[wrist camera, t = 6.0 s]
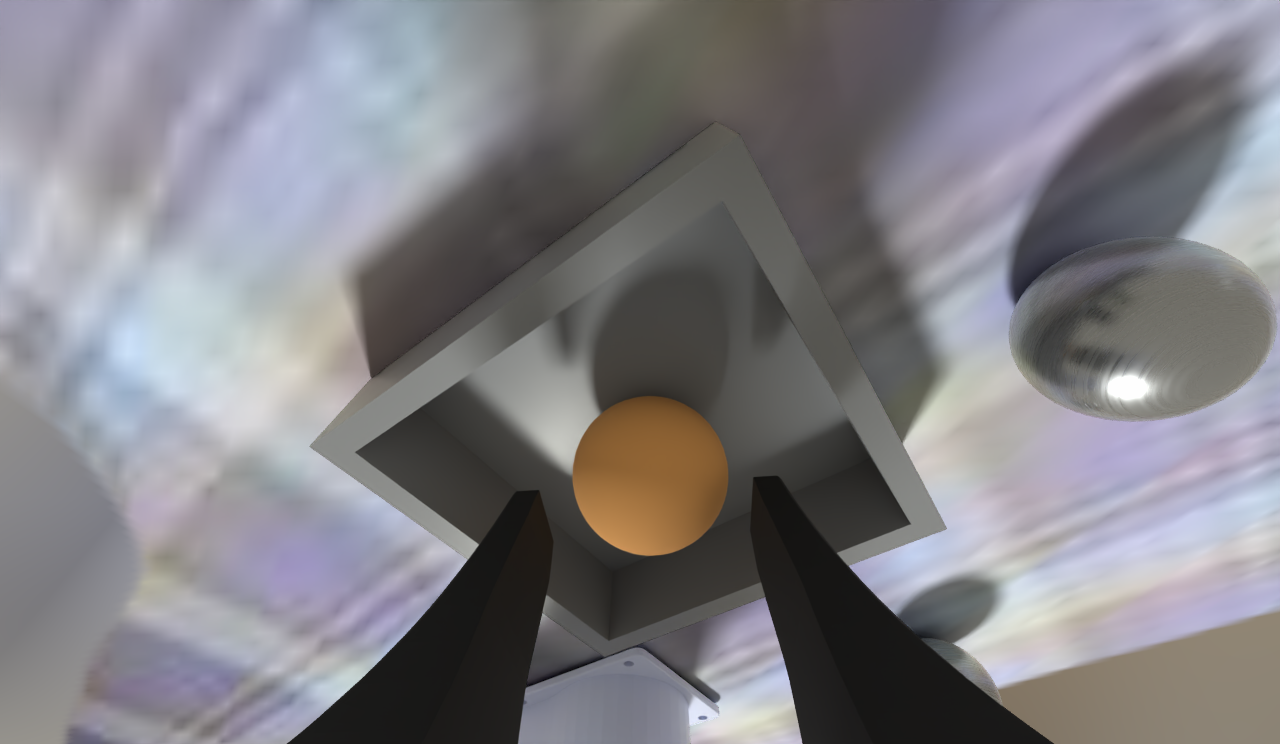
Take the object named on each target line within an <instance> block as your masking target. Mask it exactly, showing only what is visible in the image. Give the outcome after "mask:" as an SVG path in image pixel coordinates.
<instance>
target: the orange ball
mask: <svg viewBox="0 0 1280 744" xmlns="http://www.w3.org/2000/svg"><path fill="white" fill-rule="evenodd" d="M573 487H574V493H575V497H576V500H577V503H578V506H579V508H580V511H581V513H582V514H583V516H584V518H585V519H586V521H587V523H588V524H589V525H590V526H591V528H592V529H593V530H594V531H595V532H596V533H597V534H598V535H599V536H600V537H601V538H603V539H604V540H605V541H607V542H608V543H610V544H611V545H613V546H615V547H617V548H619V549H621V550H623V551H627V552H630V553H633V554H638V555H646V556H654V555H664V554H668V553H672V552H675V551H678V550H680V549H683V548H685V547H686V546H688V545H690V544H692V543H693V542H695V541H696V540H698V539H699V538H700V537H701V536H702V535H703V534H704V533H705V532H706V531H707V530H708V529H709V528H710V527H711V526H712V524H713V523H714V521H715V520H716V518H717V517H718V515H719V513H720V511H721V509H722V506H723V504H724V501H725V497H726V494H727V487H728V464H727V459H726V455H725V451H724V448H723V446H722V444H721V441H720V439H719V437H718V435H717V434H716V432H715V431H714V430H713V428H712V427H711V425H710V424H709V423H708V422H707V421H706V420H705V419H704V418H703V417H702V416H701V415H700V414H699V413H698V412H696V411H695V410H694V409H692V408H690V407H688V406H687V405H685V404H683V403H681V402H678V401H676V400H673V399H669V398H665V397H658V396H641V397H635V398H631V399H628V400H624V401H622V402H619V403H617V404H615V405H613V406H611V407H610V408H608V409H607V410H605V411H604V412H603V413H602V414H600V415H599V416H598V417H597V418H596V419H595V420H594V421H593V422H592V423H591V425H590V426H589V427H588V428H587V430H586V431H585V433H584V435H583V436H582V438H581V440H580V443H579V445H578V448H577V450H576V453H575V458H574V463H573Z"/></svg>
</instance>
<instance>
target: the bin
mask: <svg viewBox="0 0 1280 744" xmlns="http://www.w3.org/2000/svg"><path fill="white" fill-rule="evenodd" d="M641 396H658V397H665V398H669V399H673V400H676V401H678V402H681V403H683V404H685V405H687V406H688V407H690V408H692V409H694V410H695V411H696V412H698V413H699V414H700V415H701V416H702V417H703V418H704V419H705V420H706V421H707V422H708V423H709V424H710V425H711V427H712V428H713V430H714V431H715V432H716V434H717V435H718V437H719V439H720V441H721V444H722V446H723V448H724V451H725V455H726V459H727V464H728V487H727V494H726V497H725V501H724V504H723V506H722V509H721V511H720V513H719V515H718V517H717V518H716V520H715V521H714V523H713V524H712V526H711V527H710V528H709V529H708V530H707V531H706V532H705V533H704V534H703V535H702V536H701V537H700V538H699V539H698V540H696V541H695V542H693V543H692V544H690V545H688V546H686V547H685V548H683V549H680V550H678V551H675V552H672V553H668V554H664V555H654V556H646V555H638V554H633V553H630V552H627V551H623V550H621V549H619V548H617V547H615V546H613V545H611V544H610V543H608V542H607V541H605V540H604V539H603V538H601V537H600V536H599V535H598V534H597V533H596V532H595V531H594V530H593V529H592V528H591V526H590V525H589V524H588V523H587V521H586V519H585V518H584V516H583V514H582V513H581V511H580V508H579V506H578V503H577V500H576V497H575V493H574V487H573V463H574V458H575V453H576V450H577V448H578V445H579V443H580V440H581V438H582V436H583V435H584V433H585V431H586V430H587V428H588V427H589V426H590V425H591V423H592V422H593V421H594V420H595V419H596V418H597V417H598V416H599V415H600V414H602V413H603V412H604V411H605V410H607V409H608V408H610V407H611V406H613V405H615V404H617V403H619V402H622V401H624V400H628V399H631V398H635V397H641ZM309 447H311V448H312V449H313V450H315V451H316V452H318V453H319V454H320V455H322V456H323V457H325V458H326V459H327V460H329V461H330V462H332V463H333V464H334V465H336V466H337V467H339V468H340V469H341V470H343V471H344V472H346V473H347V474H349V475H350V476H351V477H353V478H354V479H356V480H357V481H358V482H360V483H361V484H363V485H364V486H365V487H367V488H368V489H370V490H371V491H372V492H374V493H375V494H377V495H378V496H379V497H381V498H382V499H384V500H385V501H386V502H388V503H389V504H391V505H392V506H393V507H395V508H396V509H398V510H399V511H400V512H402V513H403V514H405V515H406V516H407V517H409V518H410V519H412V520H413V521H414V522H416V523H417V524H419V525H420V526H421V527H423V528H424V529H426V530H427V531H428V532H430V533H431V534H433V535H434V536H435V537H437V538H438V539H440V540H441V541H442V542H444V543H445V544H447V545H448V546H449V547H451V548H452V549H454V550H455V551H456V552H458V553H459V554H461V555H462V556H463V557H465V558H466V559H469V558H470V556H471V555H472V554H473V552H474V551H475V549H476V548H477V547H478V545H479V544H480V543H481V541H482V540H483V538H484V537H485V536H486V534H487V533H488V531H489V530H490V528H491V527H492V525H493V524H494V523H495V521H496V520H497V518H498V517H499V515H500V514H501V512H502V511H503V509H504V508H505V506H506V505H507V503H508V502H509V500H510V499H511V497H512V496H513V494H514V493H515V492H516V491H528V490H539V491H540V495H541V498H542V502H543V505H544V509H545V512H546V516H547V519H548V523H549V526H550V530H551V534H552V537H553V541H554V543H553V553H552V563H551V571H550V580H549V585H548V589H547V594H546V598H545V603H544V607H543V612H542V613H543V614H545V615H546V616H548V617H549V618H550V619H552V620H553V621H555V622H556V623H557V624H559V625H560V626H562V627H563V628H564V629H566V630H567V631H569V632H570V633H571V634H573V635H574V636H576V637H577V638H578V639H580V640H581V641H583V642H584V643H585V644H587V645H588V646H590V647H591V648H592V649H594V650H595V651H597V652H598V653H599V654H601V655H602V656H604V657H606V656H609V655H612V654H614V653H617V652H620V651H622V650H625V649H628V648H630V647H633V646H636V645H638V644H641V643H644V642H646V641H649V640H652V639H654V638H657V637H660V636H662V635H665V634H668V633H670V632H673V631H676V630H678V629H681V628H684V627H686V626H689V625H692V624H694V623H697V622H700V621H702V620H705V619H708V618H710V617H713V616H716V615H718V614H721V613H724V612H726V611H729V610H732V609H734V608H737V607H740V606H742V605H745V604H748V603H750V602H753V601H756V600H758V599H761V598H764V597H765V594H764V591H763V587H762V584H761V580H760V577H759V574H758V570H757V565H756V560H755V555H754V549H753V544H752V538H751V533H750V523H751V505H752V487H753V477H761V476H778V477H780V478H781V479H782V481H783V482H784V484H785V485H786V487H787V488H788V490H789V491H790V493H791V494H792V496H793V497H794V499H795V500H796V501H797V503H798V504H799V506H800V507H801V508H802V510H803V511H804V512H805V514H806V515H807V516H808V518H809V519H810V520H811V522H812V523H813V524H814V526H815V527H816V528H817V529H818V531H819V532H820V533H821V534H822V536H823V537H824V538H825V539H826V540H827V542H828V543H829V544H830V545H831V547H832V548H833V549H834V550H835V551H836V553H837V554H838V555H839V556H840V557H841V558H842V560H843V561H844V562H845V563H846V564H847V565H848V566H849V565H852V564H855V563H857V562H860V561H863V560H865V559H868V558H871V557H873V556H876V555H879V554H881V553H884V552H887V551H889V550H892V549H895V548H897V547H900V546H903V545H905V544H908V543H911V542H914V541H916V540H919V539H922V538H924V537H927V536H930V535H932V534H935V533H938V532H940V531H943V530H946V529H947V528H946V526H945V524H944V522H943V520H942V518H941V516H940V514H939V512H938V511H937V509H936V507H935V505H934V503H933V501H932V499H931V497H930V495H929V493H928V491H927V490H926V488H925V486H924V484H923V482H922V480H921V478H920V476H919V474H918V472H917V471H916V469H915V467H914V465H913V463H912V461H911V459H910V457H909V455H908V453H907V452H906V450H905V448H904V446H903V444H902V442H901V440H900V438H899V436H898V434H897V433H896V431H895V429H894V427H893V425H892V423H891V421H890V419H889V417H888V415H887V413H886V412H885V410H884V408H883V406H882V404H881V402H880V400H879V398H878V396H877V394H876V393H875V391H874V389H873V387H872V385H871V383H870V381H869V379H868V377H867V375H866V374H865V372H864V370H863V368H862V366H861V364H860V362H859V360H858V358H857V356H856V354H855V353H854V351H853V349H852V347H851V345H850V343H849V341H848V339H847V337H846V335H845V334H844V332H843V330H842V328H841V326H840V324H839V322H838V320H837V318H836V316H835V315H834V313H833V311H832V309H831V307H830V305H829V303H828V301H827V299H826V297H825V296H824V294H823V292H822V290H821V288H820V286H819V284H818V282H817V280H816V278H815V276H814V275H813V273H812V271H811V269H810V267H809V265H808V263H807V261H806V259H805V257H804V256H803V254H802V252H801V250H800V248H799V246H798V244H797V242H796V240H795V238H794V237H793V235H792V233H791V231H790V229H789V227H788V225H787V223H786V221H785V219H784V218H783V216H782V214H781V212H780V210H779V208H778V206H777V204H776V202H775V200H774V198H773V197H772V195H771V193H770V191H769V189H768V187H767V185H766V183H765V181H764V179H763V178H762V176H761V174H760V172H759V170H758V168H757V166H756V164H755V162H754V160H753V159H752V157H751V155H750V153H749V151H748V149H747V147H746V145H745V143H744V141H743V140H742V138H741V136H740V134H738V133H736V132H734V131H732V130H731V129H729V128H727V127H725V126H723V125H722V124H720V123H718V122H716V121H715V122H714V123H713V124H711V125H710V126H709V127H707V128H706V129H705V130H703V131H702V132H701V133H699V134H698V135H697V136H695V137H694V138H693V139H691V140H690V141H689V142H687V143H686V144H685V145H683V146H682V147H681V148H679V149H678V150H677V151H675V152H674V153H673V154H671V155H670V156H669V157H667V158H666V159H665V160H663V161H662V162H661V163H659V164H658V165H657V166H655V167H654V168H652V169H651V170H650V171H648V172H647V173H646V174H644V175H643V176H642V177H640V178H639V179H638V180H636V181H635V182H634V183H632V184H631V185H630V186H628V187H627V188H626V189H624V190H623V191H622V192H620V193H619V194H618V195H616V196H615V197H614V198H612V199H611V200H610V201H608V202H607V203H606V204H604V205H603V206H602V207H600V208H599V209H598V210H596V211H595V212H594V213H592V214H591V215H590V216H588V217H587V218H586V219H584V220H583V221H582V222H580V223H579V224H578V225H576V226H575V227H574V228H572V229H571V230H570V231H568V232H567V233H566V234H564V235H563V236H562V237H560V238H559V239H558V240H556V241H555V242H554V243H552V244H551V245H549V246H548V247H547V248H545V249H544V250H543V251H541V252H540V253H539V254H537V255H536V256H535V257H533V258H532V259H531V260H529V261H528V262H527V263H525V264H524V265H523V266H521V267H520V268H519V269H517V270H516V271H515V272H513V273H512V274H511V275H509V276H508V277H507V278H505V279H504V280H503V281H501V282H500V283H499V284H497V285H496V286H495V287H493V288H492V289H491V290H489V291H488V292H487V293H485V294H484V295H483V296H481V297H480V298H479V299H477V300H476V301H475V302H473V303H472V304H471V305H469V306H468V307H467V308H465V309H464V310H463V311H461V312H460V313H459V314H457V315H456V316H455V317H453V318H452V319H450V320H449V321H448V322H446V323H445V324H444V325H442V326H441V327H440V328H438V329H437V330H436V331H434V332H433V333H432V334H430V335H429V336H428V337H426V338H425V339H424V340H422V341H421V342H420V343H418V344H417V345H416V346H414V347H413V348H412V349H410V350H409V351H408V352H406V353H405V354H404V355H402V356H401V357H400V358H398V359H397V360H396V361H394V362H393V363H392V364H390V365H389V366H388V367H386V368H385V369H384V370H382V371H381V372H380V373H378V374H377V375H376V376H374V377H373V378H372V379H370V380H369V381H368V383H367V384H366V385H365V386H364V387H363V388H362V389H361V390H360V391H359V392H358V394H357V395H356V396H355V397H354V398H353V399H352V400H351V401H350V402H349V403H348V405H347V406H346V407H345V408H344V409H343V410H342V411H341V412H340V413H339V414H338V416H337V417H336V418H335V419H334V420H333V421H332V422H331V423H330V424H329V425H328V426H327V428H326V429H325V430H324V431H323V432H322V433H321V434H320V435H319V436H318V437H317V439H316V440H315V441H314V442H313V443H312V444H311V445H310V446H309Z"/></svg>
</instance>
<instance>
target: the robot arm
mask: <svg viewBox="0 0 1280 744" xmlns="http://www.w3.org/2000/svg"><path fill="white" fill-rule="evenodd" d="M750 533H751V538H752V544H753V549H754V555H755V560H756V565H757V570H758V574H759V577H760V580H761V584H762V587H763V591H764V594H765V597H766V601H767V604H768V607H769V611H770V614H771V617H772V621H773V624H774V627H775V631H776V634H777V637H778V641H779V644H780V647H781V651H782V654H783V657H784V661H785V665H786V669H787V672H788V676H789V680H790V685H791V690H792V694H793V699H794V704H795V709H796V714H797V718H798V723H799V728H800V733H801V738H802V743H803V744H1054V743H1052V742H1051V741H1049V740H1048V739H1047V738H1045V737H1044V736H1043V735H1041V734H1040V733H1038V732H1037V731H1036V730H1034V729H1033V728H1031V727H1030V726H1029V725H1027V724H1026V723H1024V722H1023V721H1022V720H1020V719H1019V718H1018V717H1016V716H1015V715H1014V714H1012V713H1011V712H1010V711H1008V710H1007V709H1006V708H1004V707H1003V706H1002V705H1000V704H999V703H998V702H997V701H995V700H994V699H993V698H992V697H990V696H989V695H988V694H987V693H985V692H984V691H983V690H981V689H980V688H979V687H978V686H976V685H975V684H974V683H973V682H971V681H970V680H969V679H967V678H966V677H965V676H964V675H963V674H962V673H960V672H959V671H958V670H957V669H956V668H955V667H953V666H952V665H951V664H950V663H949V662H948V661H946V660H945V659H944V658H943V657H942V656H940V655H939V654H938V653H937V652H936V651H935V650H933V649H932V648H931V647H930V646H929V645H928V644H926V643H925V642H924V641H923V640H922V639H921V638H919V637H918V636H917V635H916V634H915V633H914V632H913V631H912V630H911V629H910V628H909V627H908V626H907V625H905V624H904V623H903V622H902V621H901V620H900V619H899V618H898V617H897V616H896V615H895V614H894V613H893V612H892V611H891V610H890V609H889V608H888V607H887V606H886V605H885V604H884V603H883V602H882V601H881V600H880V599H879V598H878V597H877V596H876V595H875V594H874V593H873V592H872V591H871V590H870V589H869V588H868V587H867V586H866V585H865V584H864V583H863V582H862V581H861V580H860V579H859V577H858V576H857V575H856V574H855V573H854V572H853V571H852V570H851V569H850V567H849V566H848V565H847V564H846V563H845V562H844V561H843V560H842V558H841V557H840V556H839V555H838V554H837V553H836V551H835V550H834V549H833V548H832V547H831V545H830V544H829V543H828V542H827V540H826V539H825V538H824V537H823V536H822V534H821V533H820V532H819V531H818V529H817V528H816V527H815V526H814V524H813V523H812V522H811V520H810V519H809V518H808V516H807V515H806V514H805V512H804V511H803V510H802V508H801V507H800V506H799V504H798V503H797V501H796V500H795V499H794V497H793V496H792V494H791V493H790V491H789V490H788V488H787V487H786V485H785V484H784V482H783V481H782V479H781V478H780V477H778V476H761V477H753V487H752V505H751V523H750ZM553 543H554V541H553V537H552V534H551V530H550V526H549V523H548V519H547V516H546V512H545V509H544V505H543V502H542V498H541V495H540V491H539V490H528V491H516V492H515V493H514V494H513V496H512V497H511V499H510V500H509V502H508V503H507V505H506V506H505V508H504V509H503V511H502V512H501V514H500V515H499V517H498V518H497V520H496V521H495V523H494V524H493V525H492V527H491V528H490V530H489V531H488V533H487V534H486V536H485V537H484V538H483V540H482V541H481V543H480V544H479V545H478V547H477V548H476V549H475V551H474V552H473V554H472V555H471V556H470V558H469V559H468V560H467V562H466V563H465V564H464V566H463V567H462V568H461V570H460V571H459V572H458V573H457V575H456V576H455V577H454V579H453V580H452V581H451V582H450V584H449V585H448V586H447V587H446V589H445V590H444V591H443V592H442V594H441V595H440V596H439V597H438V598H437V600H436V601H435V602H434V603H433V604H432V606H431V607H430V608H429V609H428V610H427V611H426V612H425V614H424V615H423V616H422V617H421V618H420V619H419V620H418V621H417V623H416V624H415V625H414V626H413V627H412V628H411V629H410V630H409V631H408V632H407V634H406V635H405V636H404V637H403V638H402V639H401V640H400V641H399V642H398V643H397V644H396V645H395V646H394V647H393V648H392V649H391V650H390V651H389V652H388V653H387V654H386V655H385V656H384V657H383V658H382V659H381V660H380V661H379V662H378V663H377V664H376V665H375V666H374V667H373V668H372V669H371V670H370V671H369V672H368V673H367V674H366V675H365V676H364V677H363V678H362V679H361V680H360V681H359V682H357V683H356V684H355V685H354V686H353V687H352V688H351V689H350V690H349V691H347V692H346V693H345V694H344V695H343V696H342V697H341V698H340V699H339V700H337V701H336V702H335V703H334V704H333V705H332V706H331V707H330V708H329V709H327V710H326V711H325V712H324V713H323V714H322V715H321V716H320V717H319V718H317V719H316V720H315V721H314V722H313V723H312V724H310V725H309V726H308V727H307V728H306V729H305V730H303V731H302V732H301V733H300V734H298V735H297V736H296V737H295V738H293V739H292V740H291V741H290V742H288V743H287V744H691V738H690V726H691V725H695V724H698V723H701V722H705V721H708V720H712V719H715V718H717V717H718V716H719V707H718V706H717V705H716V704H715V703H713V702H712V701H711V700H709V699H708V698H707V697H705V696H704V695H703V694H702V693H700V692H699V691H698V690H696V689H695V688H694V687H693V686H691V685H690V684H689V683H687V682H686V681H685V680H683V679H682V678H681V677H680V676H678V675H677V674H676V673H674V672H673V671H672V670H671V669H669V668H668V667H667V666H665V665H664V664H663V663H661V662H660V661H659V660H658V659H656V658H655V657H654V656H652V655H651V654H650V653H649V652H647V651H646V650H645V649H643V648H639V647H637V648H631V649H629V650H626V651H623V652H621V653H618V654H615V655H612V656H610V657H607V658H604V659H602V660H599V661H596V662H594V663H591V664H588V665H586V666H583V667H580V668H578V669H575V670H572V671H570V672H567V673H564V674H562V675H559V676H556V677H554V678H551V679H548V680H545V681H543V682H540V683H537V684H535V685H532V686H529V687H527V688H526V684H527V679H528V673H529V668H530V664H531V660H532V655H533V651H534V647H535V642H536V638H537V634H538V629H539V625H540V620H541V616H542V612H543V607H544V603H545V598H546V594H547V589H548V585H549V580H550V571H551V563H552V553H553Z"/></svg>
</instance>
